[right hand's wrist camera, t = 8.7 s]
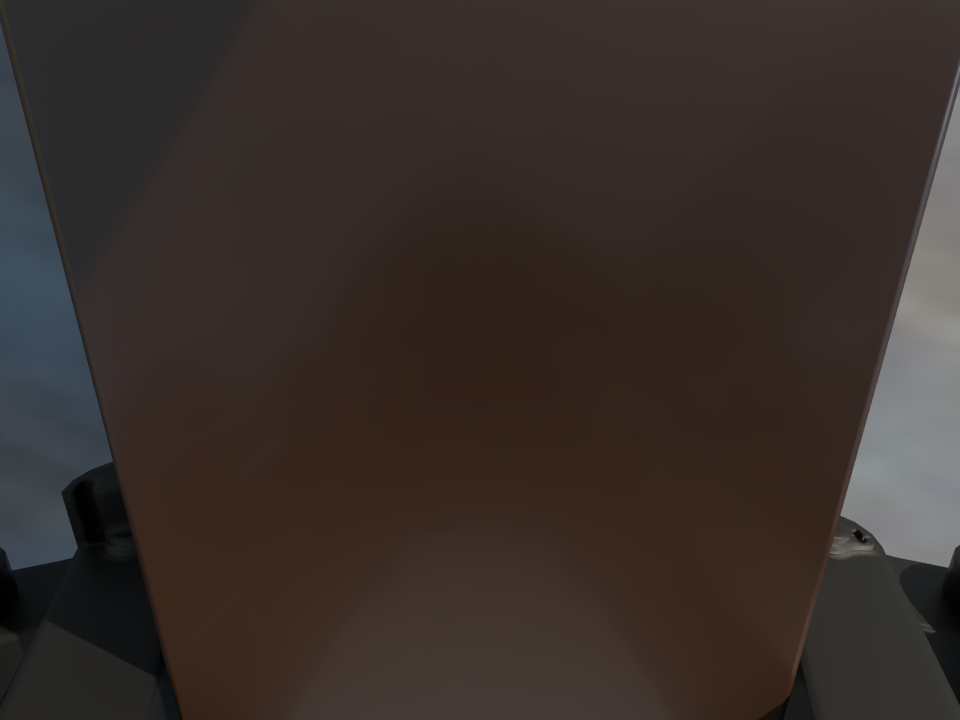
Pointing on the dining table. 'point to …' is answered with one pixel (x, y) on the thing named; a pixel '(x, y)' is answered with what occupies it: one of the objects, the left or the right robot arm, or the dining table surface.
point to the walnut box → (484, 331)
